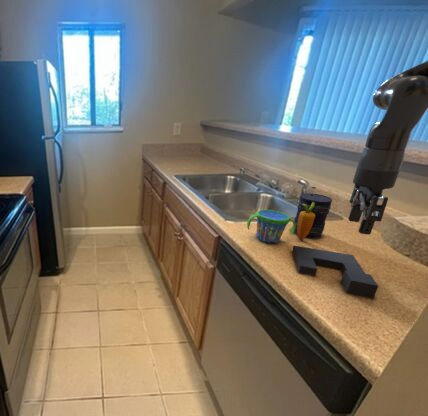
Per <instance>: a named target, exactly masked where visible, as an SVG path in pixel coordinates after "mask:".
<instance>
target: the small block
mask: <svg viewBox="0 0 428 416" xmlns="http://www.w3.org/2000/svg"><path fill="white" fill-rule="evenodd" d="M340 282H341V283H340V284H341V285H342V286H343V288H344V291H345V292H346V293H347V294H351V295H355V296H360V297H363V298H364V297H365V298H368V299H369V298H370V299H375V296H376V294H377V291H378V288H379V284H378V283H377V281H376V280H375V279H374V277H373V276H372V274H369V273H366V274H364V273H359V272H354V271H348V270H345V271H344V274H343V273H342V277H341V279H340Z"/></svg>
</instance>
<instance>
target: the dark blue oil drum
mask: <svg viewBox="0 0 428 416" xmlns="http://www.w3.org/2000/svg"><path fill="white" fill-rule="evenodd" d="M311 188H312V189H317V187H316V186H311ZM312 202H314V203H315V205H314V207H313V209H312V210H311V212H312V213H314V214H315V219H314V222H313V225H312V228H311V230H310V231H309V233H308V235H307V236H306V237H305V238H306V239H314V240H316V239H320V238H322V236H323V235H322V234H323V232H324V230H325V226H326V220H327V217H328V215H329V213H330V210H331V207H332V202H333V198H332V197H330V196H328V195H324V194H318V193H308V192H306V193H301V194H300V196H299V200H298V203H297V206H296V207H297V208H296V209H297V211H296V215H295V217H294V219H293V220H294V222H295V224H296V229H295V232H294V234H295V235H296V236H298V234H297V223H298V218H299V214H300V212H302V211H306V210H305V207H304V206H303V205H302V204H306V205H307V207H308V209H309V208H310V207H311V204H312ZM305 238H304V239H305Z"/></svg>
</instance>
